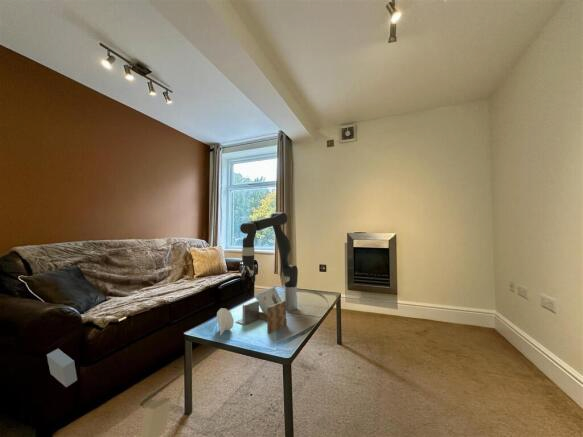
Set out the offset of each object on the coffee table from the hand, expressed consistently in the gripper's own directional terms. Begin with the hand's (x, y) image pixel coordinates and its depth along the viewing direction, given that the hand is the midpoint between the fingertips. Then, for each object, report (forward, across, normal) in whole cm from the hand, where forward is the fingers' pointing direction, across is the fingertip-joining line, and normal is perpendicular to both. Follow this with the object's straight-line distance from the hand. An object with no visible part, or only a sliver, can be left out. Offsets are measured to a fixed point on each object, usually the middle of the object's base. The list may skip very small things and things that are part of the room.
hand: (248, 280), depth 148 cm
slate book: (+25, +39, +77) cm, 90 cm away
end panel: (+28, -17, -8) cm, 34 cm away
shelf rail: (+28, -2, -15) cm, 32 cm away
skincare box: (+27, +1, -29) cm, 39 cm away
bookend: (+28, +4, -7) cm, 29 cm away
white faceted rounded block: (+28, +5, +15) cm, 32 cm away
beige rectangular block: (+54, +7, +55) cm, 77 cm away
